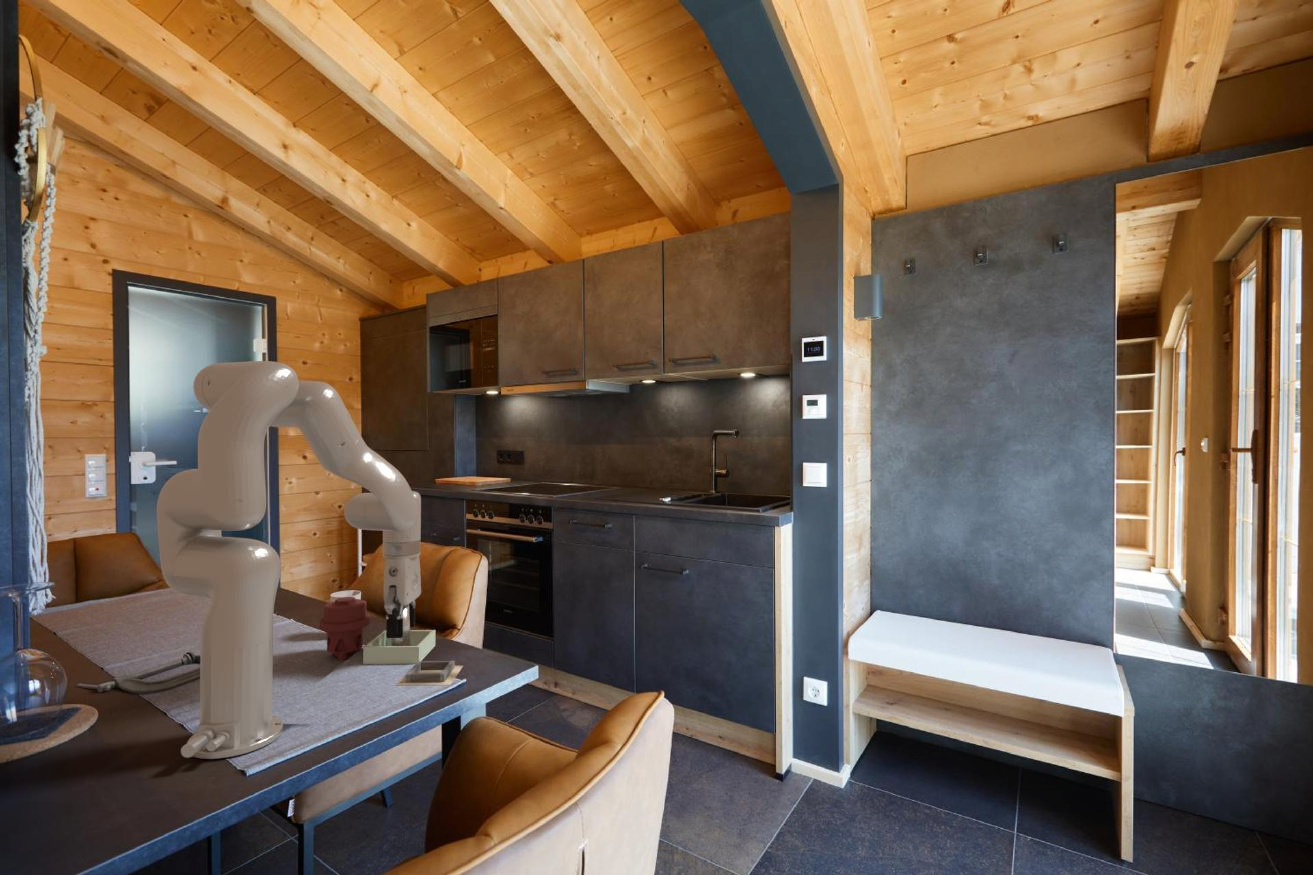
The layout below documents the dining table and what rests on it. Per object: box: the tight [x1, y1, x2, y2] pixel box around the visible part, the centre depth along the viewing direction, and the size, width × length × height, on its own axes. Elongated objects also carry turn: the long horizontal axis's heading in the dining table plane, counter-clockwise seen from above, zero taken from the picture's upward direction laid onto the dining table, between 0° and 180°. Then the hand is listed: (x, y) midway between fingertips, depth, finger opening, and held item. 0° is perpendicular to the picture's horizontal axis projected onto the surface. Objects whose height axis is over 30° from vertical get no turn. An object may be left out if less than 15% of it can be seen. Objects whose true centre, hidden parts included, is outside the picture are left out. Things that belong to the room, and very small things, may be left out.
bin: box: [362, 629, 437, 665], centre depth 134 cm, size 11×11×5 cm
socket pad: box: [395, 660, 464, 687], centre depth 122 cm, size 10×10×3 cm
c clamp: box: [75, 651, 200, 695], centre depth 124 cm, size 20×17×3 cm
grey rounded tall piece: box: [391, 601, 413, 646], centre depth 134 cm, size 5×5×13 cm
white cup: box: [330, 589, 362, 602], centre depth 150 cm, size 7×7×10 cm
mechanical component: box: [318, 597, 371, 661], centre depth 136 cm, size 12×10×10 cm
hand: (401, 631), depth 134 cm, fingers open, 6 cm apart
